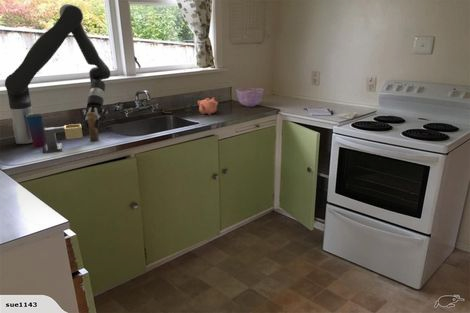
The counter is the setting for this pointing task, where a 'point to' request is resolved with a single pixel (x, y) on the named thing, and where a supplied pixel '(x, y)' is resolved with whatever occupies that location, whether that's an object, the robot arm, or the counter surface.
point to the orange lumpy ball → (207, 106)
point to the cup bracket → (52, 145)
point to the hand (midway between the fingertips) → (91, 127)
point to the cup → (36, 129)
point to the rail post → (92, 126)
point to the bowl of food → (249, 96)
